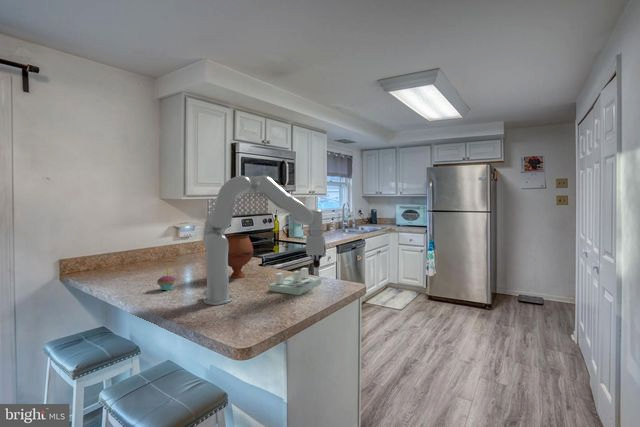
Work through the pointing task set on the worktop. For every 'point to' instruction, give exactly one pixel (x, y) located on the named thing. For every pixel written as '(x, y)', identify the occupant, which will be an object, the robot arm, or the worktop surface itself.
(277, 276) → the switch
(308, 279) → the switch box
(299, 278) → the switch
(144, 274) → the worktop surface
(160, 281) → the cupcake
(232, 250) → the goblet
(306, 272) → the switch
